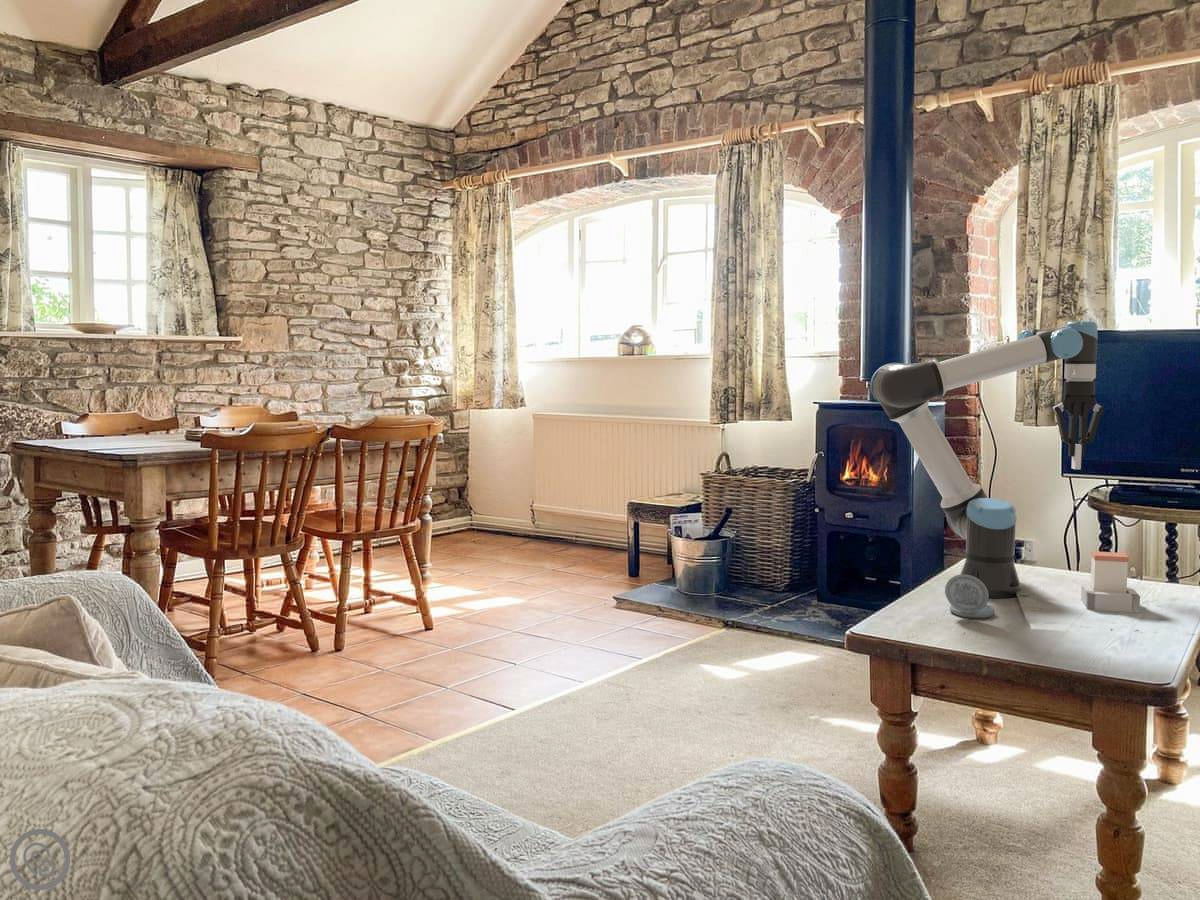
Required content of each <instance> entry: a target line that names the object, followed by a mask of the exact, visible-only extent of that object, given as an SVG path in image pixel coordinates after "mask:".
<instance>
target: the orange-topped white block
mask: <svg viewBox="0 0 1200 900" xmlns="http://www.w3.org/2000/svg"><path fill="white" fill-rule="evenodd" d="M1090 555H1091V562H1090V563H1091V564H1090V585H1089V586H1090V587H1091V588H1092V590H1093V591H1094V592H1108V593H1124V594H1126V592H1127V587H1128V569H1129V568H1128V567H1129V565H1128V564H1129V560H1130V558H1129V556H1128V555H1127V554H1126V552H1112V551H1111V552H1110V551H1093V550H1092V551H1091V553H1090Z"/></svg>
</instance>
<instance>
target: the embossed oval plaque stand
mask: <svg viewBox="0 0 1200 900" xmlns="http://www.w3.org/2000/svg"><path fill="white" fill-rule="evenodd" d="M944 593H945V594H944V595H945V597H946V599H947V601H948V603H949V604H950V606H949V611H950V612H951V613H952V614H954V615H956V616H959V617H961V618H962V617H963V618H969V619H986V618H990V617H992V616H994V615H995V611H996V610H995V609H994V607H993V606H992V605H990V604H988V603H989V599H990V598H989V594H988V590H987V588H986V586H985V585H984V584H983V582H982V581H980V580H979V579H978V578H976V577H974V576H971V575H966V574H961V573H960V574H956V575H954V576H952V577H950V578H949V579H948V581H947V582H946V584H945V588H944Z"/></svg>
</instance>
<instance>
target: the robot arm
mask: <svg viewBox="0 0 1200 900" xmlns="http://www.w3.org/2000/svg"><path fill="white" fill-rule="evenodd" d="M1098 336H1099V335H1098V325H1097V323H1096V322H1094V321H1089V320H1087V321H1086V320H1085V321H1068V322H1067V323H1066V326H1065V327H1060V328H1045V329H1039V328H1038V329H1037V328H1036V329H1034V328H1031V329H1023V330H1021V331H1020V332H1019V335H1018V337H1017V339H1016V340H1013V341H1010V342H1009V341H1008V342H1006V343H1003V344H999V345H996V346H992V347H988V348H985V349H981V350H977V351H974V352H971V353H966V354H963V355H959V356H956V357H952V358H949V359H945V360H943V361H937V360H935V359H931V360H927V361H922V362H917V363H915V362H914V363H901V362H890V363H886V364H884V365H882V366H880V367H879V368H878V369H877V370H876V371H875V372H874V373H873V375H872V376H871V379H870V384H869V385H870V391H871V395H872V397H873V398H874V400H875V401H876V402H877V403H879V404H880V406H881V407H882V409H883V410H884V411H885V414H886V415H887V417H888V418H889V421H892V422H896V423H898V424H899V426H900V427H901V429H902V431H903V433H904V435H905V436H906V438H907V440H908V441H909V443H910V445H911V447H912V448H913V450H914V451H915V453H916V455H917V456H918V458H919V460H920V462H921V463H922V465H923V467H924V469H925V470H926V472H927V474H928V476H929V477H930V478H931V481H932V483H933V484H934V486H935V487H936V489H937V491H938V492H939V494H940V496H941V497H942V499H941V502H940V507H941V509H942V511H943V512H944V515H946V522H947V524H948V526H949V528H950V530H951V531H952V532H953V533H954V534H955V535H956V536H958V537H960V538H961V539H963V540H965V562H964V563H963V566H962V568H961V572H960V574H966V575H971V576H974V577H976V578H978V579H979V580H980V581H982V582H983V584H984V585H985V586H986V588H987V590H988V594H989V599H991V598H993V599H1007V598H1016V597H1017V596H1018V594H1017V593H1019V592H1021V589H1022V588H1021V587H1022V586H1021V582H1020V579H1019V575H1018V572H1017V569H1016V566H1015V551H1016V550H1015V549H1016V548H1015V547H1016V545H1015V544H1016V526H1017V525H1016V523H1017V515H1016V514H1017V513H1016V508H1015V506H1014V504H1012V503H1011V502H1009V501H1006V500H1004V499H1003V500H1002V499H999V498H992V497H990V498H989V497H988V496H987V494H986V492H985V490H984V489H983V487H982V486H981V485H980V484H978V483H974V482H972V480H971V479H970V477H969V476H968V474H967V472H966V470H965V468H964V467H963V465H962V464H961V462H960V460H959V458H958V457H957V455H956V453H955V452H954V450H953V448H952V446H951V444H950V443H949V441H948V439H947V438H946V436H945V433H944V432H943V431H942V429H941V427H940V426H939V424H938V422H937V421H936V418H935V417H934V415H933V413H932V412H931V410H930V409H929V403H930V401H931V400H934V399H937V398H941V397H944V396H945V394H946V393H947V392H948V391H951V390H953V389H957V388H961V387H965V386H968V385H971V384H975V383H978V382H982V381H986V380H989V379H993V378H997V377H999V376H1000V377H1001V376H1003V375H1007V374H1010V373H1013V372H1017V371H1021V370H1025V369H1028V368H1032V367H1035V366H1039V365H1043V364H1045V363H1046V364H1047V363H1051V362H1055V361H1059V360H1062V359H1063V360H1064V370H1063V371H1064V372H1063V374H1064V377H1063V378H1064V379H1065V381H1064V382H1063V397H1062V399H1061V402H1060V403H1059V404H1057V405H1053V406H1052V408H1051V410H1052V411H1053V413H1054V414H1055V417H1056V421H1057V427H1058V430H1059V436H1060V440H1061V442H1064V443H1066V444H1068V445H1067V446H1068V451H1067V452H1068V453H1067V454H1068V456H1069V457H1071V469H1073V470H1082V457H1083V458H1084V457H1085V456H1086V445H1087V444H1089V443H1093V442H1094V441H1095V436H1096V434H1097V430H1098V426H1099V423H1100V420H1101V416H1102V415H1103V413H1105V411H1106V407H1105V406H1102V405H1100V404H1098V403H1097V399H1096V397H1095V396H1096V382H1095V379H1096V378H1097V376H1096V375H1097V373H1096V372H1097V352H1098V341H1099V340H1098V339H1099V337H1098ZM1064 409H1065V411H1066V413H1067V414H1068V430H1067V424H1066V420H1065V416H1064ZM1092 410H1093V413H1092V416H1091V420H1090V422H1089V426H1088V418H1089V414H1090V413H1091V411H1092ZM1078 421H1079V422H1078ZM1077 422H1078V423H1077ZM1077 424H1078V425H1077ZM1077 426H1078V437H1077ZM1077 438H1078V440H1077ZM1077 441H1078V443H1077Z"/></svg>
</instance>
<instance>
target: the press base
mask: <svg viewBox="0 0 1200 900" xmlns="http://www.w3.org/2000/svg"><path fill="white" fill-rule="evenodd" d="M1080 592H1081V593H1080V600H1081V602H1082V604H1083V605H1084V607H1085V609H1086V610H1096V611H1107V612H1110V611H1111V612H1122V613H1123V612H1126V613H1140V608H1141V607H1140V606H1141V605H1140V603H1141V595H1140V594H1138V592H1137V591H1136V590H1135V589H1134V588H1133V586H1127V592H1126V594H1124V593H1108V592H1094V591H1093V590H1092V588H1091V587H1090V585H1089V584H1086V583H1084V584H1082V583H1081V591H1080Z"/></svg>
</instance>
